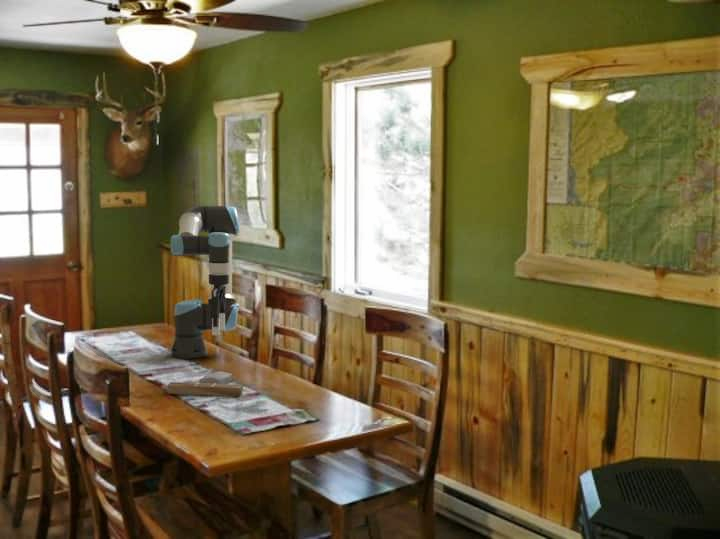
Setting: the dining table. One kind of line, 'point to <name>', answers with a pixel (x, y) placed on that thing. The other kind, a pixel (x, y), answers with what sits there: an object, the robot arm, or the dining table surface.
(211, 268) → the robot arm
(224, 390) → the tan wooden bar
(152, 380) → the dining table surface
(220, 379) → the stone block
